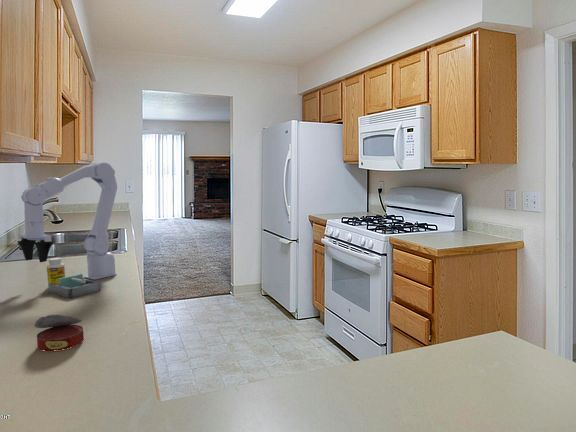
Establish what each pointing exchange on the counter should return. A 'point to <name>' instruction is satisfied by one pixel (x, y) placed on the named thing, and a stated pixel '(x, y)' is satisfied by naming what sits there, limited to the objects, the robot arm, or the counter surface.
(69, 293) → the grey piece
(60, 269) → the supplement bottle
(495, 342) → the counter surface
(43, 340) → the canned food
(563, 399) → the counter surface
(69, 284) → the pusher
